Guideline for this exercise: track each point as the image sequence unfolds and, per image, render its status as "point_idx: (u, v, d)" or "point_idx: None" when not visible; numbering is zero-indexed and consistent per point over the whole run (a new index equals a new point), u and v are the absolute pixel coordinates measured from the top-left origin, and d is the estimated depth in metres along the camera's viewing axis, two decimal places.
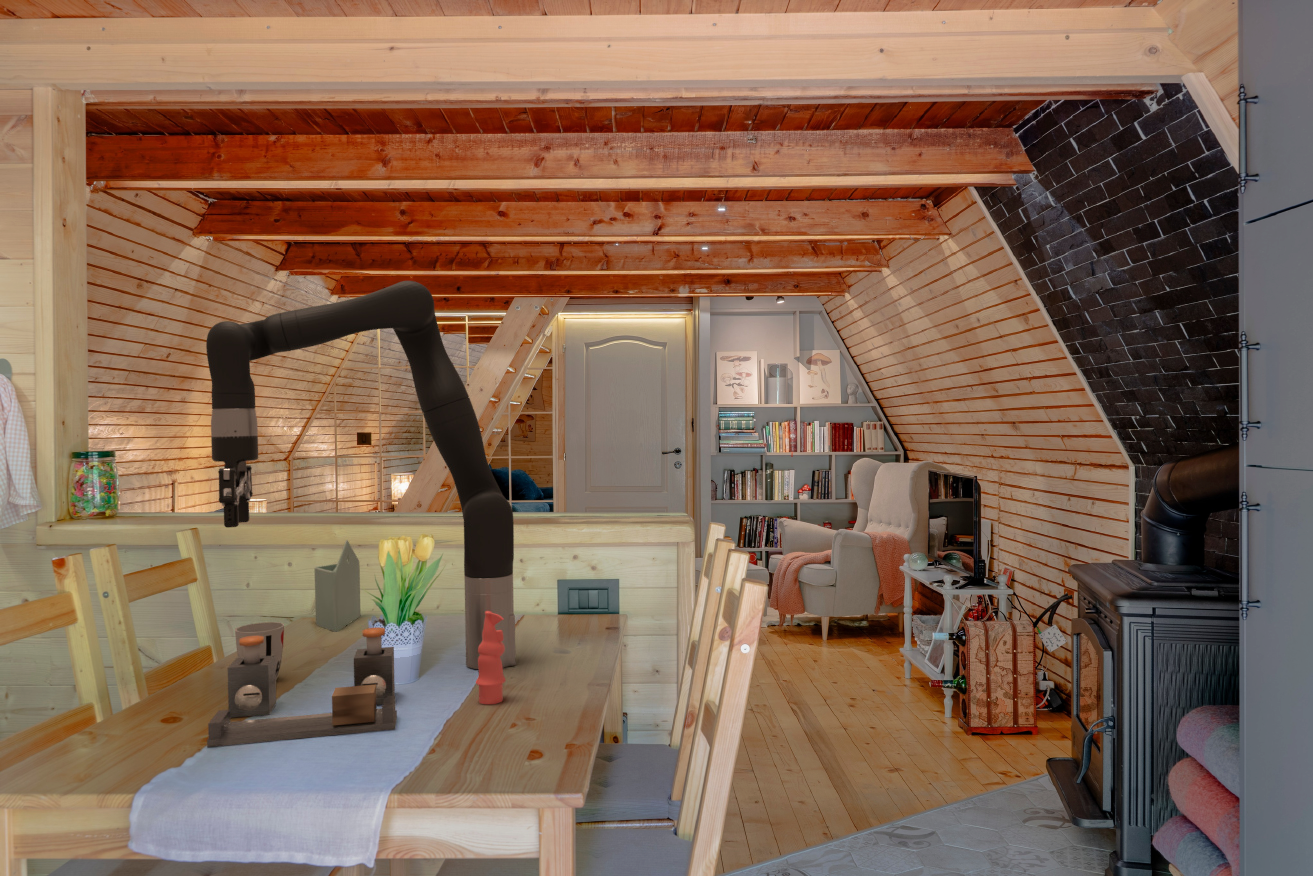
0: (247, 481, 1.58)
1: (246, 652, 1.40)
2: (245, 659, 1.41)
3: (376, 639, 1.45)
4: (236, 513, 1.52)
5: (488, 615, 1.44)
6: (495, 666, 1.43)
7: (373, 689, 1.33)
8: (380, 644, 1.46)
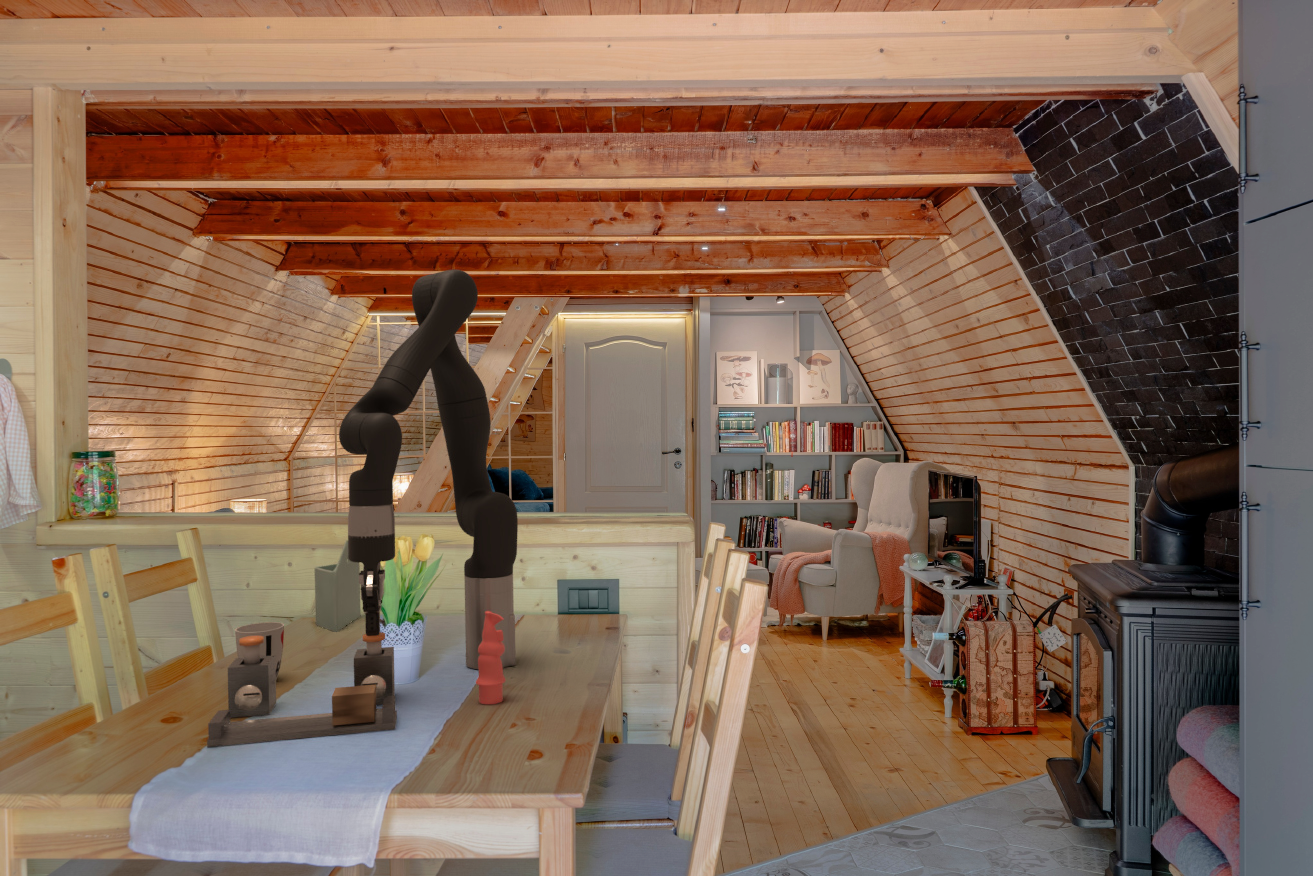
0: None
1: (246, 652, 1.40)
2: (245, 659, 1.41)
3: (376, 644, 1.45)
4: (378, 621, 1.46)
5: (488, 615, 1.44)
6: (495, 666, 1.43)
7: (373, 689, 1.33)
8: (380, 649, 1.46)
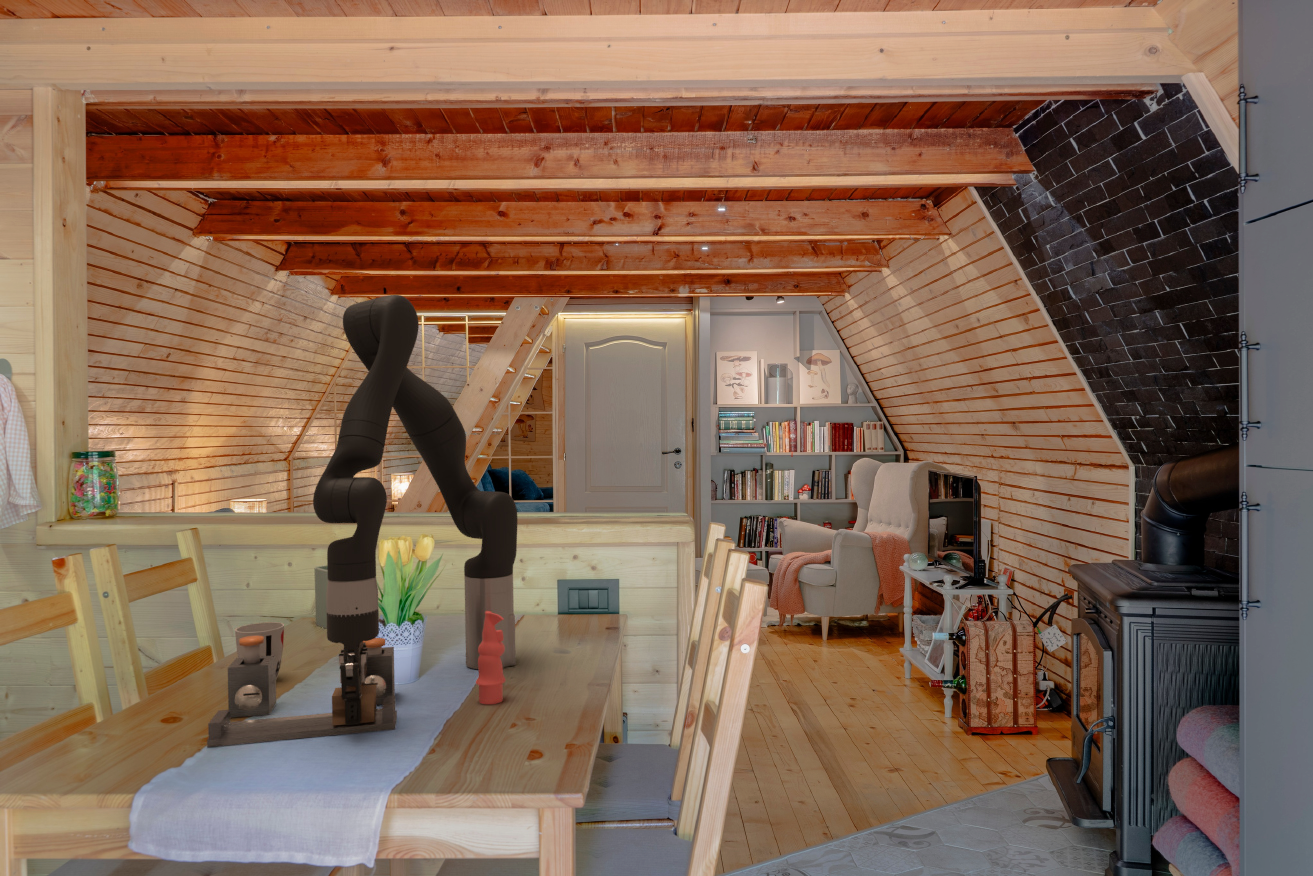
0: None
1: (246, 652, 1.40)
2: (245, 659, 1.41)
3: (376, 650, 1.45)
4: (359, 708, 1.31)
5: (488, 615, 1.44)
6: (495, 666, 1.43)
7: (373, 689, 1.33)
8: None
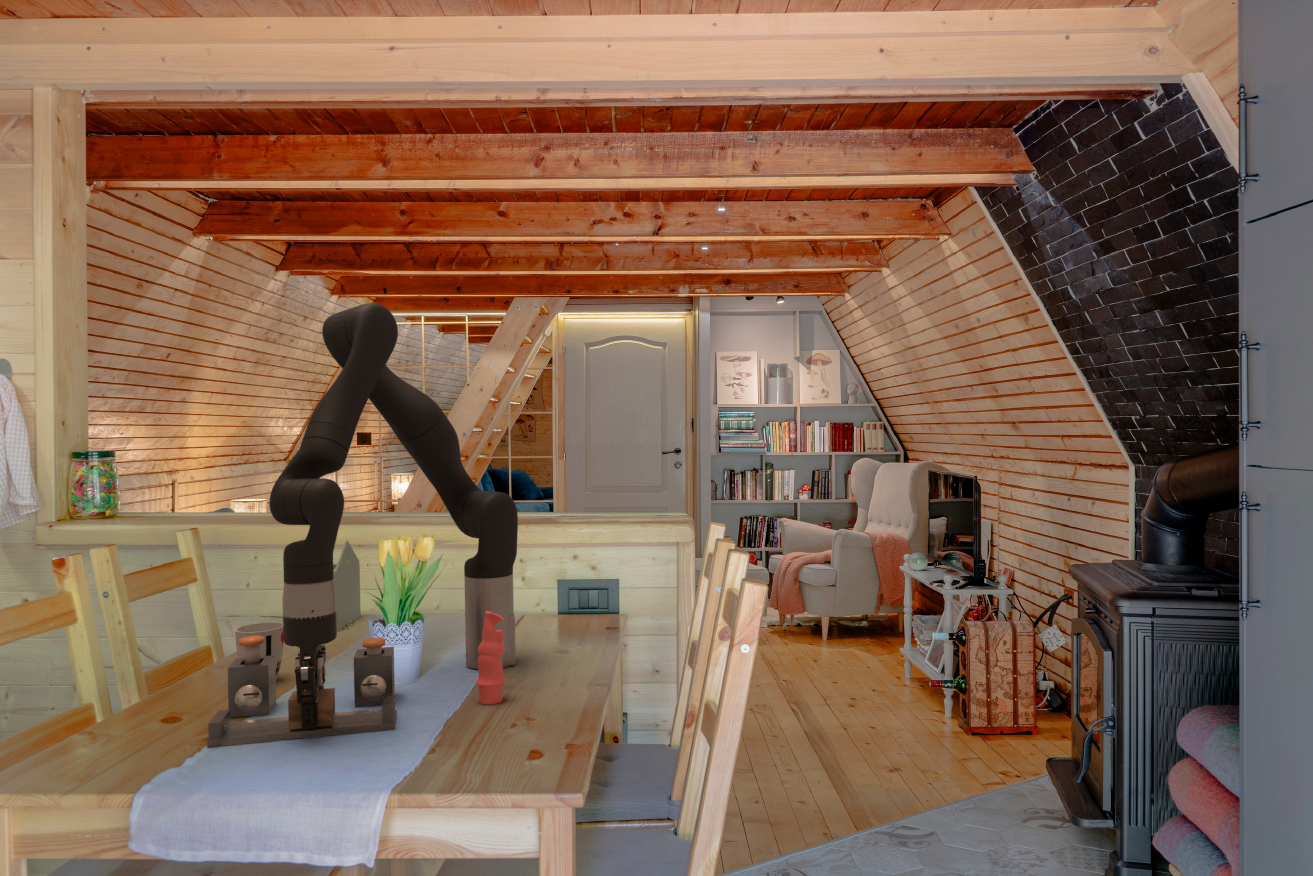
0: None
1: (246, 652, 1.40)
2: (245, 659, 1.41)
3: (376, 650, 1.45)
4: (315, 712, 1.29)
5: (488, 615, 1.44)
6: (495, 666, 1.43)
7: (331, 693, 1.32)
8: None
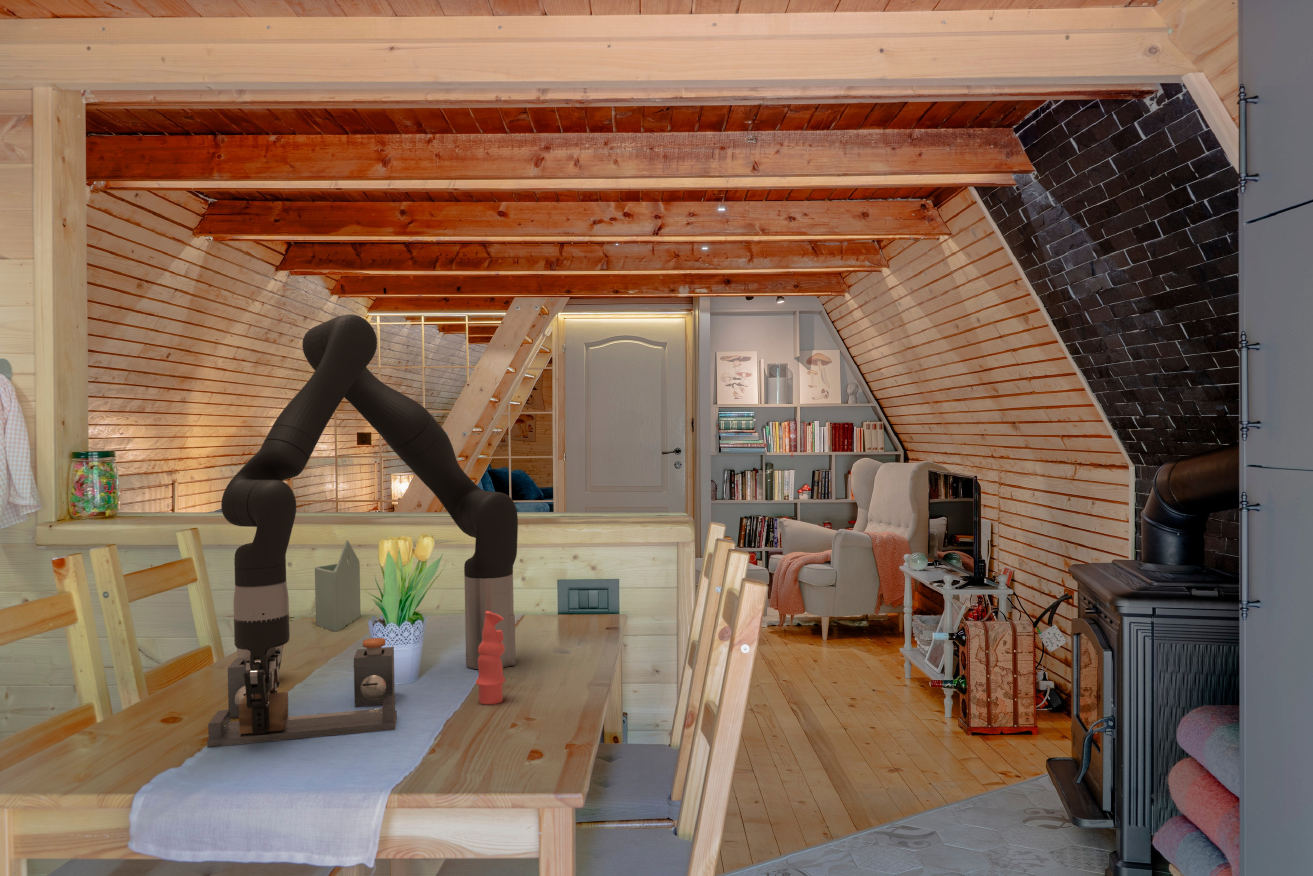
0: (275, 667, 1.31)
1: (246, 652, 1.40)
2: (245, 659, 1.41)
3: (376, 650, 1.45)
4: (267, 716, 1.27)
5: (488, 615, 1.44)
6: (495, 666, 1.43)
7: (283, 696, 1.30)
8: None
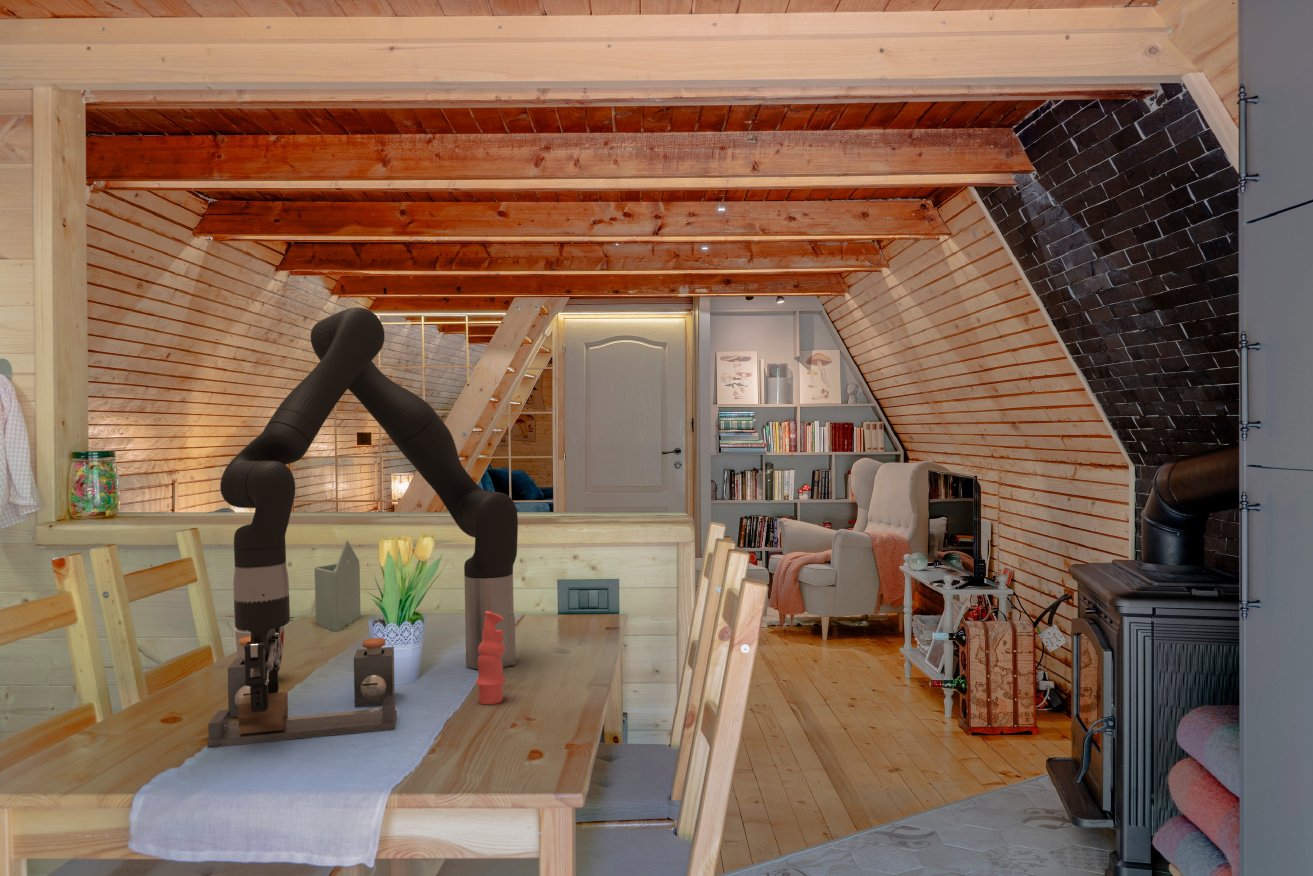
0: (277, 648, 1.32)
1: None
2: None
3: (376, 650, 1.45)
4: (265, 695, 1.26)
5: (488, 615, 1.44)
6: (495, 666, 1.43)
7: (283, 697, 1.30)
8: None
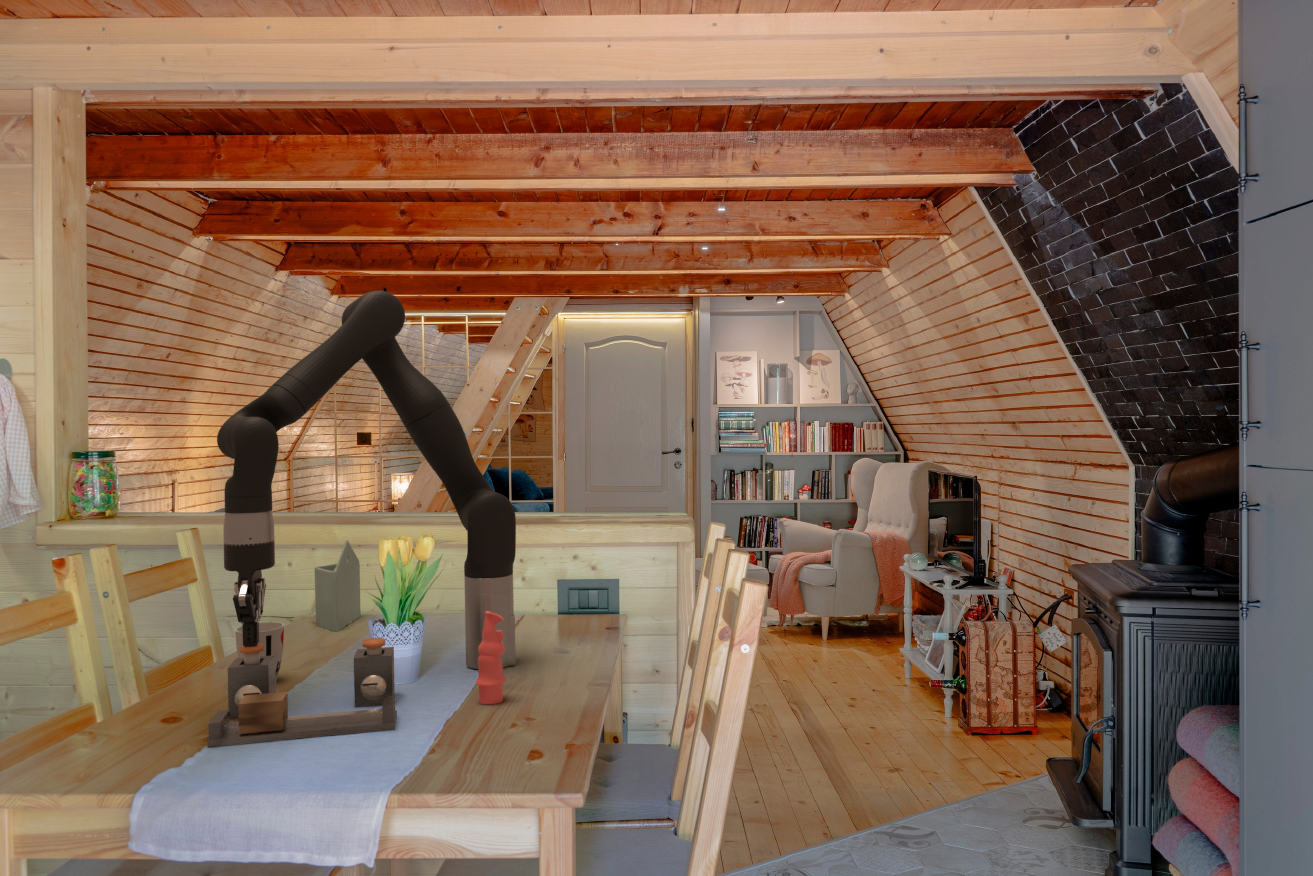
0: (261, 590, 1.42)
1: (246, 659, 1.40)
2: None
3: (376, 650, 1.45)
4: (256, 631, 1.41)
5: (488, 615, 1.44)
6: (495, 666, 1.43)
7: (283, 697, 1.30)
8: None
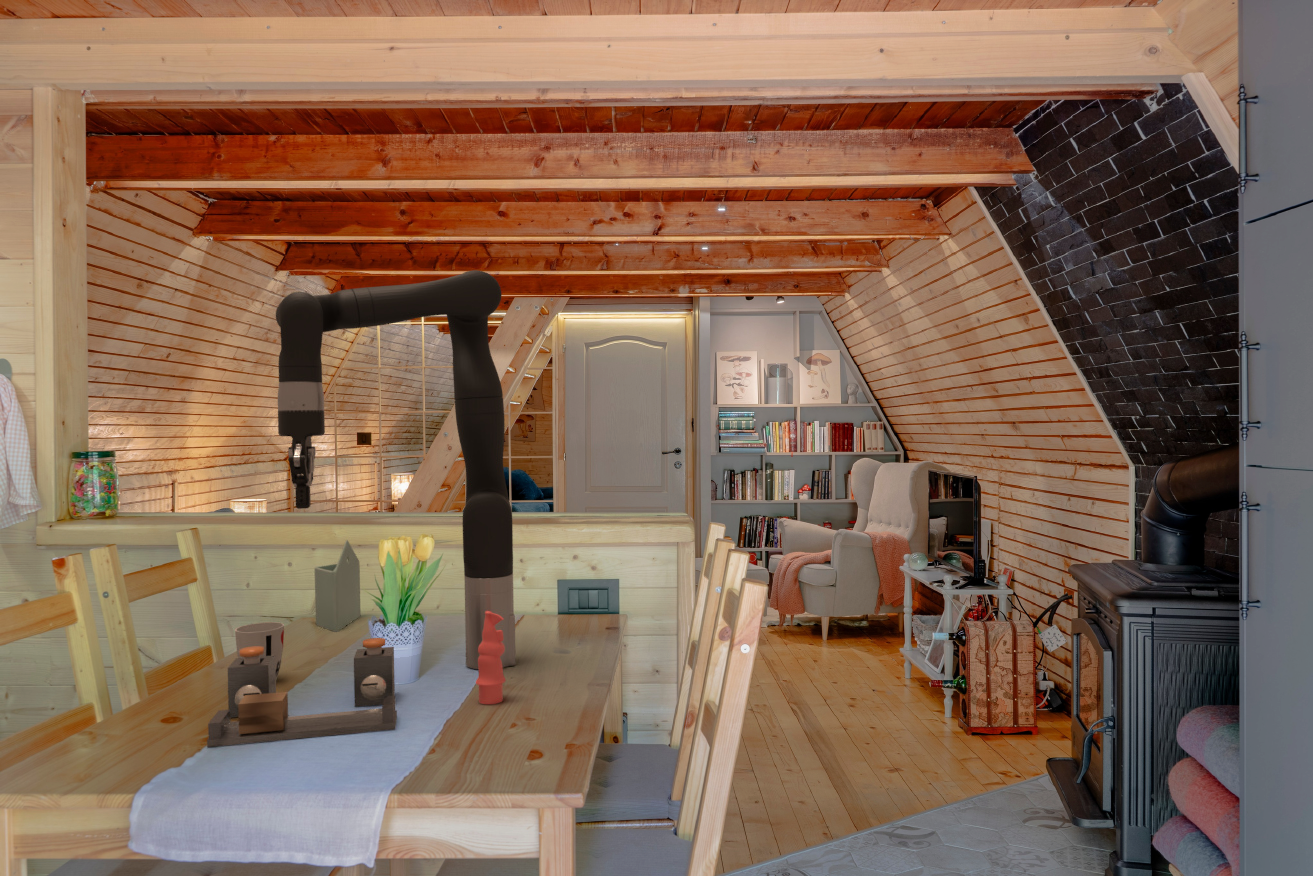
0: (312, 457, 1.53)
1: (246, 663, 1.40)
2: None
3: (376, 650, 1.45)
4: (308, 494, 1.51)
5: (488, 615, 1.44)
6: (495, 666, 1.43)
7: (283, 697, 1.30)
8: None
